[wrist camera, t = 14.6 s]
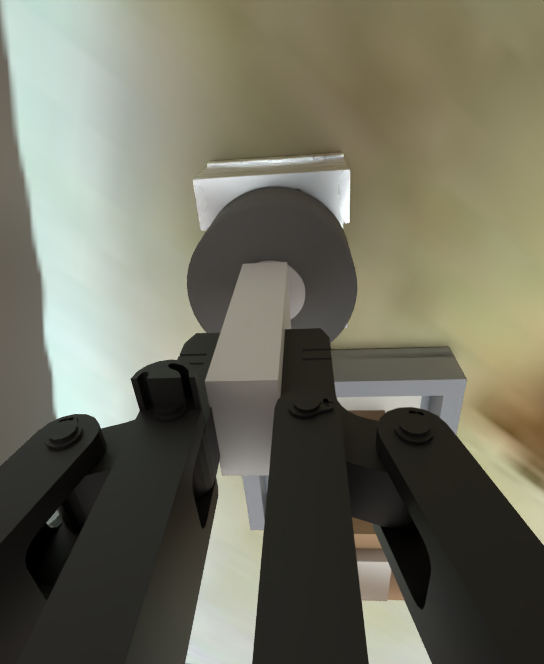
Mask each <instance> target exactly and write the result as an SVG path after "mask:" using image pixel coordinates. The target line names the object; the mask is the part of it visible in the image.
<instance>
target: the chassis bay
mask: <svg viewBox="0 0 544 664" xmlns="http://www.w3.org/2000/svg"><path fill="white" fill-rule="evenodd" d="M331 356H332V365H333V374H334V383H335V392H336V397H337V400H338V402H339V403H340V404H341V406H342V407H344V408H345V409H346V410H385V413H386V412H387V411H390V410H393V409H396V408H401V407H414V408H419V409H424V410H427V411H429V412H431V413H433V414H435V415H437V416H439V417H440V418H441V419H442V420H443V421H444V422H446V423H447V424H448V426H449V427H450V428H451V429H452V431H453V432H454V433H455V435H456V434H457V428H458V423H459V418H460V413H461V407H462V402H463V397H464V392H465V387H466V381H467V379H466V377H465V375H464V373H463V371H462V369H461V368H460V366H459V364H458V362H457V360H456V358H455V357H454V355H453V353H452V351H451V349H450V348H449V347H432V348H394V349H356V350H331ZM242 476H243V483H244V489H245V496H246V503H247V509H248V516H249V522H250V529H251V530H264V524H265V512H266V501H267V489H268V477H269V475H242Z"/></svg>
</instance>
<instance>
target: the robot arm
mask: <svg viewBox="0 0 544 664" xmlns="http://www.w3.org/2000/svg"><path fill="white" fill-rule="evenodd" d="M131 382H132V385H133V389H134V392H135V395H136V399H137V402H138V406H139V409H140V411H139V413H138V415H137V418H136V419H135V420H133V421H129V422H126V423H123V424H118V425H114V426H110V427H106V428H102V429H101V428H100V425H99V423H98V422H97V420H96V419H95V418H94V417H92V416H89V415H87V414H73V415H69V416H65V417H61V418H59V419H57V420H55V421H52V422H50V423H49V424H47V425H46V426H45V427H43V428H42V429H40V430H39V431H38V432H37V433H36V434H34V435H33V436H32V437H31V438H30V439H29V440H28V441H27V442H26V443H25V444H24V445H23V446H22V447H21V448H19V449H18V450H17V451H16V452H15V453H14V454H13V455H12V456H11V457H10V458H9V459H8V460H7V461H5V462H4V463H3V464H2V465H1V466H0V664H185V660H186V655H187V650H188V645H189V640H190V635H191V630H192V625H193V620H194V615H195V610H196V605H197V600H198V595H199V590H200V585H201V580H202V574H203V569H204V564H205V559H206V554H207V549H208V544H209V539H210V534H211V529H212V524H213V519H214V514H215V509H216V504H217V499H218V485H217V479H216V474H217V469H218V464H219V461H220V467H221V472H222V475H269V477H268V489H267V501H266V512H265V524H264V535H263V547H262V558H261V570H260V581H259V593H258V604H257V616H256V628H255V639H254V651H253V662H252V664H369V663H368V654H367V645H366V636H365V628H364V619H363V610H362V601H361V592H360V583H359V575H358V566H357V557H356V548H355V539H354V530H353V522H352V517H353V518H356V519H360V520H363V521H366V522H369V523H372V525H373V529H374V531H375V533H376V536H377V538H378V540H379V543H380V545H381V547H382V550H383V552H384V554H385V556H386V559H387V561H388V563H389V566H390V568H391V570H392V573H393V575H394V577H395V579H396V582H397V584H398V586H399V589H400V591H401V593H402V596H403V598H404V600H405V602H406V605H407V607H408V609H409V612H410V614H411V616H412V619H413V621H414V623H415V625H416V628H417V630H418V632H419V635H420V637H421V639H422V642H423V644H424V646H425V648H426V651H427V653H428V655H429V658H430V660H431V662H432V664H544V545H543V544H542V543H541V542H540V540H539V539H538V538H537V537H536V535H535V534H534V533H533V532H532V530H531V529H530V528H529V526H528V525H527V524H526V523H525V521H524V520H523V519H522V518H521V516H520V515H519V514H518V513H517V511H516V510H515V509H514V508H513V506H512V505H511V504H510V503H509V501H508V500H507V499H506V497H505V496H504V495H503V494H502V492H501V491H500V490H499V489H498V487H497V486H496V485H495V484H494V482H493V481H492V480H491V479H490V477H489V476H488V475H487V474H486V472H485V471H484V470H483V469H482V467H481V466H480V465H479V463H478V462H477V461H476V460H475V458H474V457H473V456H472V455H471V453H470V452H469V451H468V450H467V448H466V447H465V446H464V445H463V443H462V442H461V441H460V440H459V438H458V437H457V436H456V435H455V433H454V432H453V431H452V429H451V428H450V427H449V426H448V424H447V423H446V422H444V421H443V420H442V419H441V418H440V417H439V416H437V415H435V414H433V413H431V412H429V411H427V410H424V409H419V408H414V407H401V408H396V409H393V410H390V411H387V412H386V413H385V414H384V415H383V416H382V417H380V419H379V421H377V420H372V419H367V418H364V417H360V416H357V415H355V414H353V413H351V412H349V411H347V410H346V409H345V408H344V407H342V406H341V404H340V403H339V402H338V400H337V397H336V392H335V383H334V374H333V365H332V356H331V347H330V338H329V336H328V335H327V334H326V333H325V332H324V331H323V330H322V329H321V328H310V329H291V319H290V301H289V283H288V266H287V262H271V263H249V264H243V265H242V268H241V271H240V274H239V277H238V280H237V283H236V286H235V290H234V293H233V296H232V299H231V302H230V305H229V308H228V311H227V314H226V317H225V320H224V324H223V327H222V330H221V333H196V334H195V335H194V336H193V337H192V338H190V339H189V340H188V341H187V342H186V343H185V344H184V346H183V348H182V351H181V353H180V356H179V357H178V360H165V361H159V362H156V363H153V364H150V365H147V366H145V367H144V368H142V369H141V370H139V371H137V372H136V373H135V375H134V376H133V377H132V378H131ZM56 510H57V511H58V513H59V516H58V517H57V518H56V519H55V520H54V521H53V522H52V523H50V524H49V525H47V524H46V522H47V521H48V520H49V519H50V517H51V516H52V515H53V514H54V513H55V511H56Z"/></svg>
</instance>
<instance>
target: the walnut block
mask: <svg viewBox="0 0 544 664" xmlns="http://www.w3.org/2000/svg"><path fill="white" fill-rule="evenodd" d="M347 411H349V412H351V413H353V414H355V415H357V416H360V417H364V418H367V419H372V420H377V421H379V419H380V417H382V416H383V415H384V414H385V410H347ZM352 522H353V530H354V539H355V548H356V557H357V566H358V575H359V583H360V592H361V600H364V601H387V600H404V598H403V596H402V593H401V591H400V589H399V586H398V584H397V582H396V579H395V577H394V575H393V573H392V570H391V568H390V566H389V563H388V561H387V559H386V556H385V554H384V552H383V550H382V547H381V545H380V543H379V540H378V538H377V536H376V533H375V531H374V529H373V525H372V523H369V522H366V521H363V520H360V519H356V518H353V517H352Z"/></svg>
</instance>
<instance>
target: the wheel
mask: <svg viewBox="0 0 544 664" xmlns="http://www.w3.org/2000/svg"><path fill="white" fill-rule="evenodd" d="M271 262H287V266H288V283H289V301H290V319H291V329H310V328H321V329H322V330H323V331H324V332H325V333H326V334H327V335H328V336H329V338H330V343H331V342H332V341H333V340H334V339H335V338H336V337H337V336H338V335H339V334H340V333H341V331H342V330H343V329H344V328H345V326H346V324H347V323H348V321H349V319H350V317H351V314H352V312H353V310H354V306H355V302H356V296H357V278H356V272H355V267H354V264H353V260H352V257H351V253H350V249H349V246H348V242H347V239H346V236H345V233H344V230H343V228H342V226H341V224H340V222H339V221H338V220H337V218H336V217H335V215H334V214H333V213H332V212H331V211H330V210H329V209H328V208H327V207H326V206H325V205H324V204H323V203H321V202H320V201H319V200H317V199H316V198H314V197H312V196H311V195H309V194H306V193H304V192H302V191H298V190H295V189H291V188H285V187H266V188H259V189H256V190H252V191H249V192H247V193H244V194H242V195H240V196H238V197H237V198H235V199H233V200H232V201H231V202H230V203H228V204H227V205H226V206H225V207H224V208H223V209H222V210H221V211H220V212H219V213H218V215H217V216H216V218H215V219H214V220H213V222H212V223H211V225H210V227H209V228H208V230H207V231H206V233H205V234H204V236H203V238H202V239H201V241H200V242H199V244H198V245H197V247H196V249H195V251H194V253H193V255H192V258H191V261H190V264H189V269H188V275H187V289H188V297H189V301H190V305H191V307H192V310H193V312H194V315H195V316H196V318H197V320H198V322H199V323H200V325H201V326H202V328H203V329H204V330H205V331H206V333H221V330H222V327H223V324H224V320H225V317H226V314H227V311H228V308H229V305H230V302H231V299H232V296H233V293H234V290H235V286H236V283H237V280H238V277H239V274H240V271H241V268H242V265H243V264H249V263H271Z"/></svg>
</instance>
